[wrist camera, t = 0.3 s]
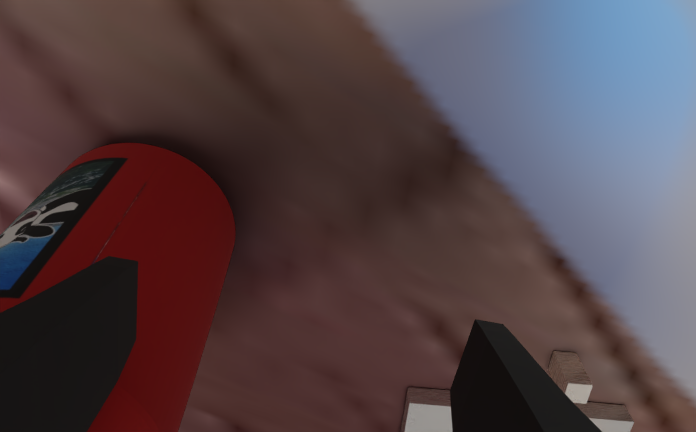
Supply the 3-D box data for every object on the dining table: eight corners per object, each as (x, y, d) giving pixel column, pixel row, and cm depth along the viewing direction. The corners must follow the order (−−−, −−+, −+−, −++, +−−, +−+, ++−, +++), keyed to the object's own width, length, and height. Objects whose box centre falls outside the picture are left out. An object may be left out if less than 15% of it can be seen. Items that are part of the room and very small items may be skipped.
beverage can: (69, 108, 19) (-241, 368, 9) (258, 163, 21) (169, 450, 10) (57, 257, 23) (-179, 569, 13) (220, 298, 24) (125, 615, 14)
